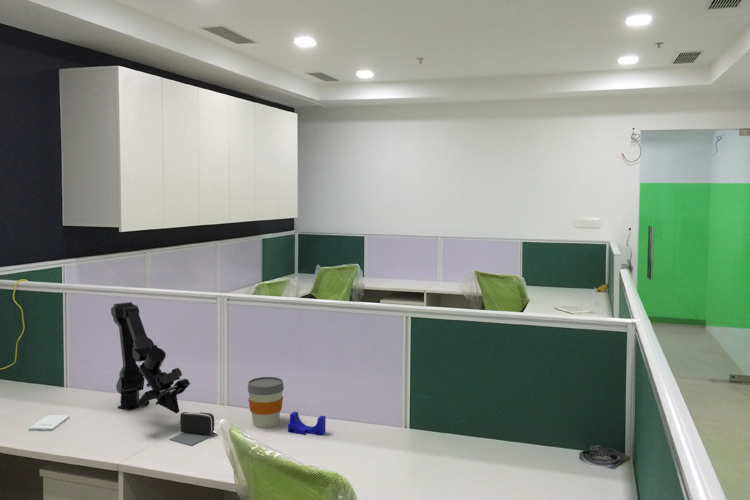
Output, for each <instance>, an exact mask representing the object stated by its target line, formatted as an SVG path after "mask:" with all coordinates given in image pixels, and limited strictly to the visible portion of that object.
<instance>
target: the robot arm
mask: <svg viewBox="0 0 750 500" xmlns="http://www.w3.org/2000/svg"><path fill="white" fill-rule="evenodd" d="M110 313H111V316H112V318H113V319H112V320H113V323H114V324H116V326H117V327H118V331H119V339H120V340H119V341H120V348H121V359H122V367H121V369H120V371H119V378H118V379H117V380H118V381H117V382H116V384H115V387H116V392H117V393H118V394H120V405H118V406H117V408H118V409H124V410H134V409H137V408H139V407H141V409H142V408H145V407H148V406H149V405H150V401H152V400H156V402H155V405H158V406H162V407H163V408H165V409H167V410H169V411H171V412H172V413H174V414H178V413H179V412H180V408H179V402H178V395H181V394H182V393H184V392H185V391H186V390H187V388H189V386H190V385H191V383H190V381H189V379H188V378H181V377H182V376H183V372H182V371H181V370H180V368H179V367H176V368H174V369H171V372H168V373H167V372H166V371H163V372H162V370H161V367H162V365H163V363H164V361H165V359H166V356H167V355H166V352H165V350H163V348H160V347H158V345H157V344H156V345H155V343H154V341H153V340H152V339H151V338H149V337H148V336H147V333H146V330H145V327H144V324H143V322H142V319H141V317H140V309H139V306H138V305H137V304H133V302H132V301H130V302H129V301H128V302H119V303H118V302H117V303H114V304H113V306H111V307H110ZM137 362H138V363H140V362H142V363H141V364H140V365H138V364H137ZM145 381H146V382H147V384H146V387H147V388H151V389H150V390H148V391H145V392H144V393H143V394H142V395H141V397H140V391H143V390H144V385H145ZM175 381H176V382H175ZM174 383H175V384H174ZM172 385H173V386H172Z"/></svg>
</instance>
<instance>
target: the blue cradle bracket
mask: <svg viewBox="0 0 750 500" xmlns="http://www.w3.org/2000/svg"><path fill="white" fill-rule="evenodd" d="M326 418H327V417H326V415H320V416H319V417H317V421H316V424H315V425H313V426H310V425H306V424H304V422H303V421H302V420H301V419H300V415H299V412H298V411H293V412H291V413H290V414H289V423H287V433H289V434H295V435H303V436H304V435H306V434H308V435H314V436H319V437H320V436H321V437H322V436H324V434H326V424H327V423H326V422H327V421H326Z"/></svg>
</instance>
